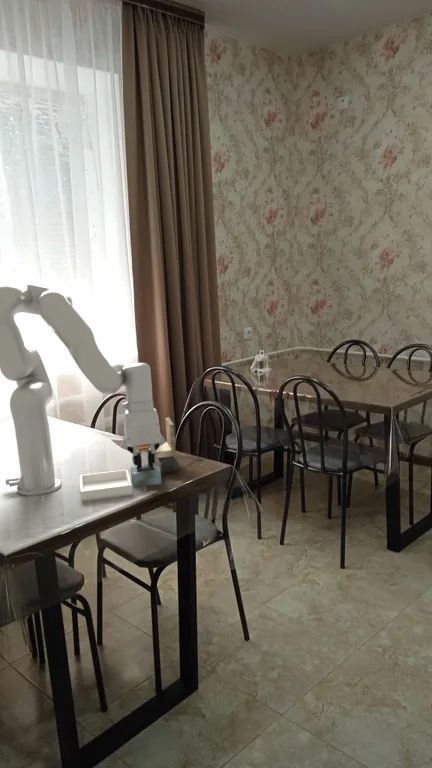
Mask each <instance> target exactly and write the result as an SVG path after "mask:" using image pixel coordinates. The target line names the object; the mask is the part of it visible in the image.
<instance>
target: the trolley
mask: <svg viewBox="0 0 432 768" xmlns="http://www.w3.org/2000/svg"><path fill="white" fill-rule="evenodd" d="M164 420H165V431H166V442H165V443H164V444H163V445H161V446H160V447H159V448H158V449H157V450H156V451H155V453H154V457H155V459H158V461H159V462H160V464H161V468H162V470H163V472H165V473H167V474H174V473H175V472H176V471H178V469H179V461H178V460H177V458H176V455H177V454H176V453H177V451H176V439H175V427H174V425H175V424H174V423H173V421H172V420H171V418H170V417H165V419H164ZM149 450H150V448H149ZM137 451H138V450H137ZM132 463H133V464H134V465H133V464H132V465H130V475H131V477H130V479H131V483H132V486H133V487H134V488H139V487H140V488H141V487H146V486H147V487H148V486H156V485H161V484H163V483H162V473H161V472H162V471H161V468H160V467H159V464H158V462H155V463H153V467H151V466H150V467H151V470H149V471H141V472H140V468H139V469H138V468H137V465H135V463H134V455H133V454H132Z"/></svg>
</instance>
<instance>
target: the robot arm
mask: <svg viewBox="0 0 432 768" xmlns="http://www.w3.org/2000/svg"><path fill="white" fill-rule="evenodd" d="M20 313H25V314H26V313H27V314H32V315H37V316H40V317H41V318H42V320H43V321H44V322H45V323H46V324H47V326H48V327H49V328H50V330H52V332H53V333H54V334H55V335H56V337H57V338H59V340H60V341H61V342H62V343H63V345H64V346H65V347H66V348H67V350H68V352H69V355H70V356H71V357H72V359H73V360H74V362H75V364H76V365H77V367H78V368H79V371H81V373H82V374H83V375H84V376H85V377H86V379H87V380H88V381H89V382H90V383H91V384H92V386H93V387H94V388H95V389H96V390H97V391H98V392H100V393H101V394H104V395H109V396H110V395H114V394H116V393H118V392H119V390H120V389H121V388H125V395H126V397H125V398H126V401H125V402H124V403H121V409H125V412H124V413H125V414H124V426H123V427H124V436H123V438H122V441H121V442H120V445H119V446H120V448H122V449H123V450H126V451H128V452H129V453H131V454H132V456H133V455H134V463H135V465H137V468H138V469H139V468H140V459H139V454H138V451H137V450H138V446H143V445H150V450H149V456H150V466H151V467H153V463H156V460H155V459H156V458H155V457H154V453H155V451H156V450H157V449H158V448H159V447H160V446H161V445H163V444H164V443H165V442H167V440H166V439H165V437H164V436H163V434H161V428H160V426H161V425H160V421H159V415H158V411H157V409H156V408H155V407H154V401H153V400H154V399H153V385H152V375H151V374H152V373H151V372H152V371H151V366H150V364H148V363H146V362H135V363H117V362H109V361H108V360H107V359H106V358H105V356H104V355H103V354H102V352H101V350H100V349H99V347H98V345H97V343H96V340H95V335H94V333H93V330H92V329H91V327H90V326H89V325H88V323H86V321H85V320H84V319H83V318H82V316H81V315H80V314H79V313H78V312H77V310H76V309H75V308H74V307H73V301H72V297H71V296H70V294H68V292H66V291H65V290H64V289H60V288H54V287H47V286H41V285H36V284H32V283H31V284H30V283H24V282H11V283H3V284H1V285H0V372H1V373H2V375H3V377H5V378H6V379H7V380H9V381H12V382H16V385H17V387H16V388H15V389H14V390H13V392H12V393H11V396H10V399H9V408H10V413H11V417H12V421H13V424H14V431H15V440H16V446H17V453H18V454H17V455H18V463H19V470H20V471H19V472H20V474H19V475H18V476H16V477H7V478H5V485H6V486H7V485H8V486H9V487H15V486H16V491H17V492H16V493H18V494H19V495H21V496H28V497H29V496H30V497H31V496H35V497H36V496H41V495H45V494H46V495H47V494H49V493H53V492H55V491H57V490H58V489H59V488H60V487H61V486H62V481H61V480H60V478H56V474H55V467H54V465H55V464H54V457H53V447H52V440H51V439H52V438H51V432H50V431H51V429H50V424H49V418H48V415H47V411H46V410H47V409H46V407H48V405H49V404H50V403H51V401H52V399H53V393H54V392H53V387H52V384H51V381H50V378H49V376H48V373H47V370H46V367H45V365H44V362H43V360H42V359H43V358H42V357H41V355H40V354H39V352H38V350H37V349H36V348H35V347H33V346H32V345H30V344H28V343H25V342H24V339H23V337H22V334H21V332H20V331H21V330H20V328H19V327H18V325H17V323H16V321H15V315H16V314H20ZM134 463H133V464H134Z"/></svg>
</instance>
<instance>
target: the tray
mask: <svg viewBox="0 0 432 768" xmlns="http://www.w3.org/2000/svg"><path fill="white" fill-rule="evenodd" d="M129 473H130V472H129V471H128V469H119V470H112V471H110V470H109V471H103V472H95V473H88V474H80V475H79V483H80V498H81V502H82V503H85V502H90V501H98V500H105V499H106V500H107V499H113V498H114V499H115V498H120V497H121V498H122V497H129V495H130V496H133V483H132V479H131V477H130V474H129Z"/></svg>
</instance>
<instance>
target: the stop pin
mask: <svg viewBox="0 0 432 768" xmlns="http://www.w3.org/2000/svg"><path fill="white" fill-rule="evenodd" d="M149 448H150V445H143V446H138V454H139V459H140V472H141V471H149V470H151V467H150V456H149Z"/></svg>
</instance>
